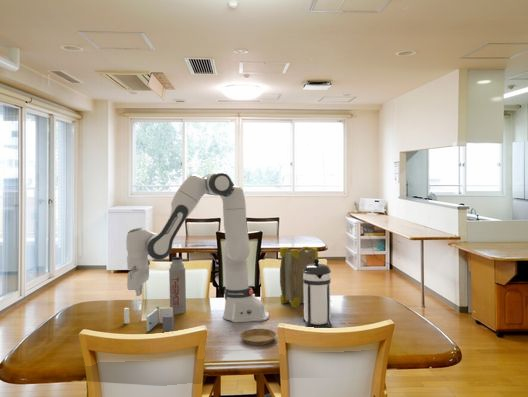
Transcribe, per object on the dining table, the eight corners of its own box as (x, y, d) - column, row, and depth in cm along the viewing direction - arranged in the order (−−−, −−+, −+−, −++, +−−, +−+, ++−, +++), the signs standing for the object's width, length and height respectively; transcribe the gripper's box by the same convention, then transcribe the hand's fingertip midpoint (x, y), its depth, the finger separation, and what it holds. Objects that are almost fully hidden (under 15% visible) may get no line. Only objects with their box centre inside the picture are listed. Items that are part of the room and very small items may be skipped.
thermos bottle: (180, 314, 211) (179, 258, 210) (166, 313, 214) (165, 258, 213) (189, 310, 219) (187, 256, 218) (175, 309, 222) (174, 255, 221)
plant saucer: (273, 348, 166) (273, 341, 166) (236, 346, 169) (236, 340, 169) (278, 335, 181) (278, 329, 181) (244, 333, 183) (244, 327, 183)
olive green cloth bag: (307, 297, 241) (306, 244, 240) (320, 301, 232) (319, 246, 231) (278, 303, 230) (277, 248, 229) (291, 308, 220) (290, 250, 220)
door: (156, 322, 199) (156, 308, 199) (160, 322, 199) (159, 308, 199) (146, 331, 187) (146, 316, 187) (150, 331, 187) (150, 316, 187)
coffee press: (341, 323, 195) (341, 258, 194) (319, 331, 184) (319, 262, 183) (312, 315, 207) (311, 254, 207) (290, 323, 196) (289, 258, 195)
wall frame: (172, 322, 200) (172, 306, 200) (172, 322, 199) (171, 307, 199) (125, 322, 200) (124, 306, 200) (124, 323, 199) (124, 307, 199)
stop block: (174, 329, 189) (173, 314, 189) (172, 332, 185) (171, 317, 185) (165, 329, 189) (164, 314, 189) (162, 332, 185) (162, 317, 185)
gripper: (137, 268, 179) (139, 301, 180) (150, 260, 200) (152, 289, 200) (122, 269, 179) (124, 301, 180) (137, 260, 200) (139, 289, 200)
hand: (139, 295), depth 190 cm, fingers closed
